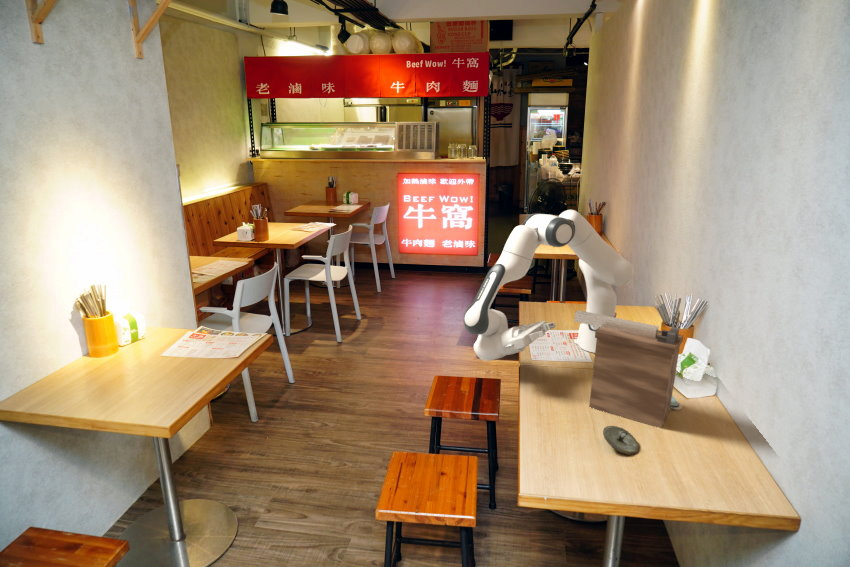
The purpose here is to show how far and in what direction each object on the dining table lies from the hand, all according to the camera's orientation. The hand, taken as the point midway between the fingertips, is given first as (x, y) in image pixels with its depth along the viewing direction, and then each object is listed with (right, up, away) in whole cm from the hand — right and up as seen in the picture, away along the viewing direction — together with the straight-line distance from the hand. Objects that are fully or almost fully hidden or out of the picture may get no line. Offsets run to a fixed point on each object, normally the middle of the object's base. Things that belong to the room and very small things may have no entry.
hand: (549, 328), depth 193 cm
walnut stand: (+24, -25, -9) cm, 36 cm away
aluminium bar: (+18, +1, -13) cm, 22 cm away
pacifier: (+38, -25, -6) cm, 46 cm away
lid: (+14, -31, -30) cm, 45 cm away
